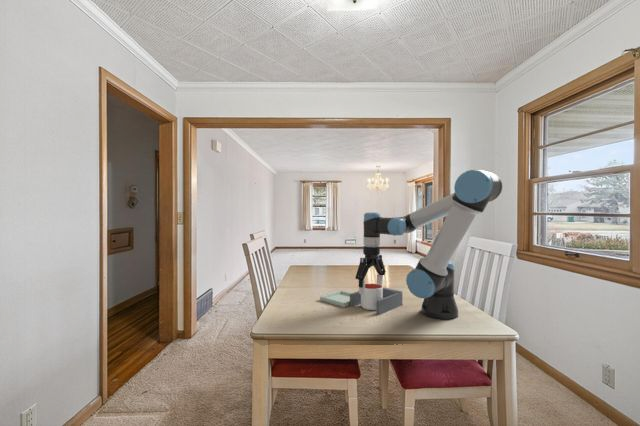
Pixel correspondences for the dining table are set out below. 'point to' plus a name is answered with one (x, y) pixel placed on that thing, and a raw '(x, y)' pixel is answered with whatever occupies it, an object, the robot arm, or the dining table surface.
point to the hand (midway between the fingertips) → (370, 291)
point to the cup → (371, 296)
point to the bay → (381, 300)
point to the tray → (337, 298)
